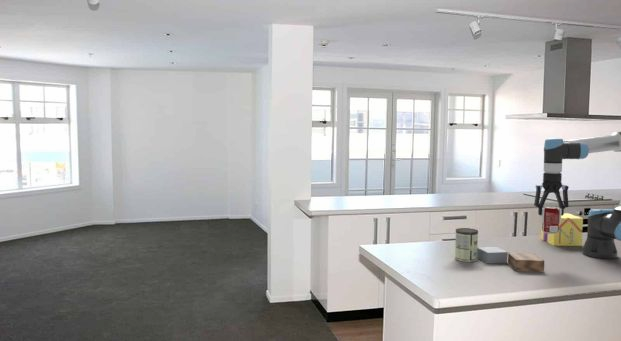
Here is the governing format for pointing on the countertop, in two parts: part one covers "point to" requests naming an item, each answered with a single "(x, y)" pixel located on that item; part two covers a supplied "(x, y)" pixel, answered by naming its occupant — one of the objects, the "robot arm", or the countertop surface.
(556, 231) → the soda can
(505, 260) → the slate-grey block
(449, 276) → the countertop surface
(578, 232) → the toy block
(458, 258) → the coffee can
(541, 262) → the walnut block
